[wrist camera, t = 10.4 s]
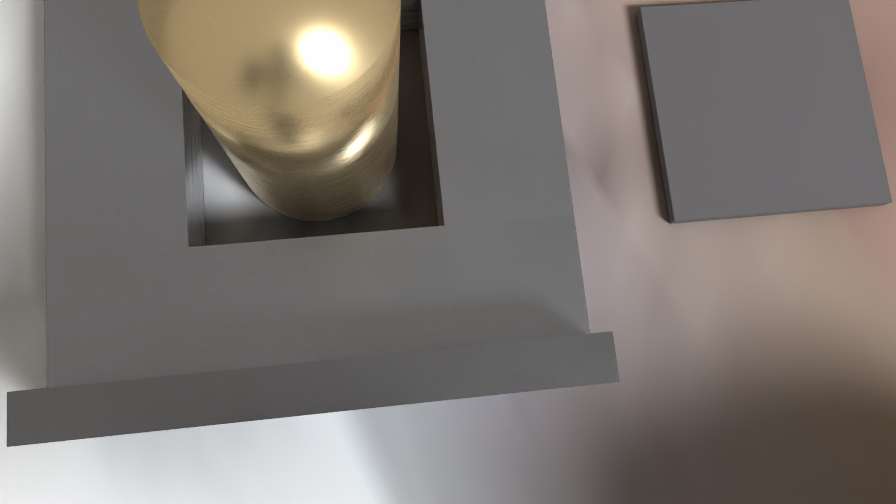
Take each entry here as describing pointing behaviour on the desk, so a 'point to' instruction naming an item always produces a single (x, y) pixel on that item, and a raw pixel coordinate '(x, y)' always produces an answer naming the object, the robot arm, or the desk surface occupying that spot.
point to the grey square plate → (760, 109)
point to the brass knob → (291, 92)
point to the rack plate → (301, 247)
